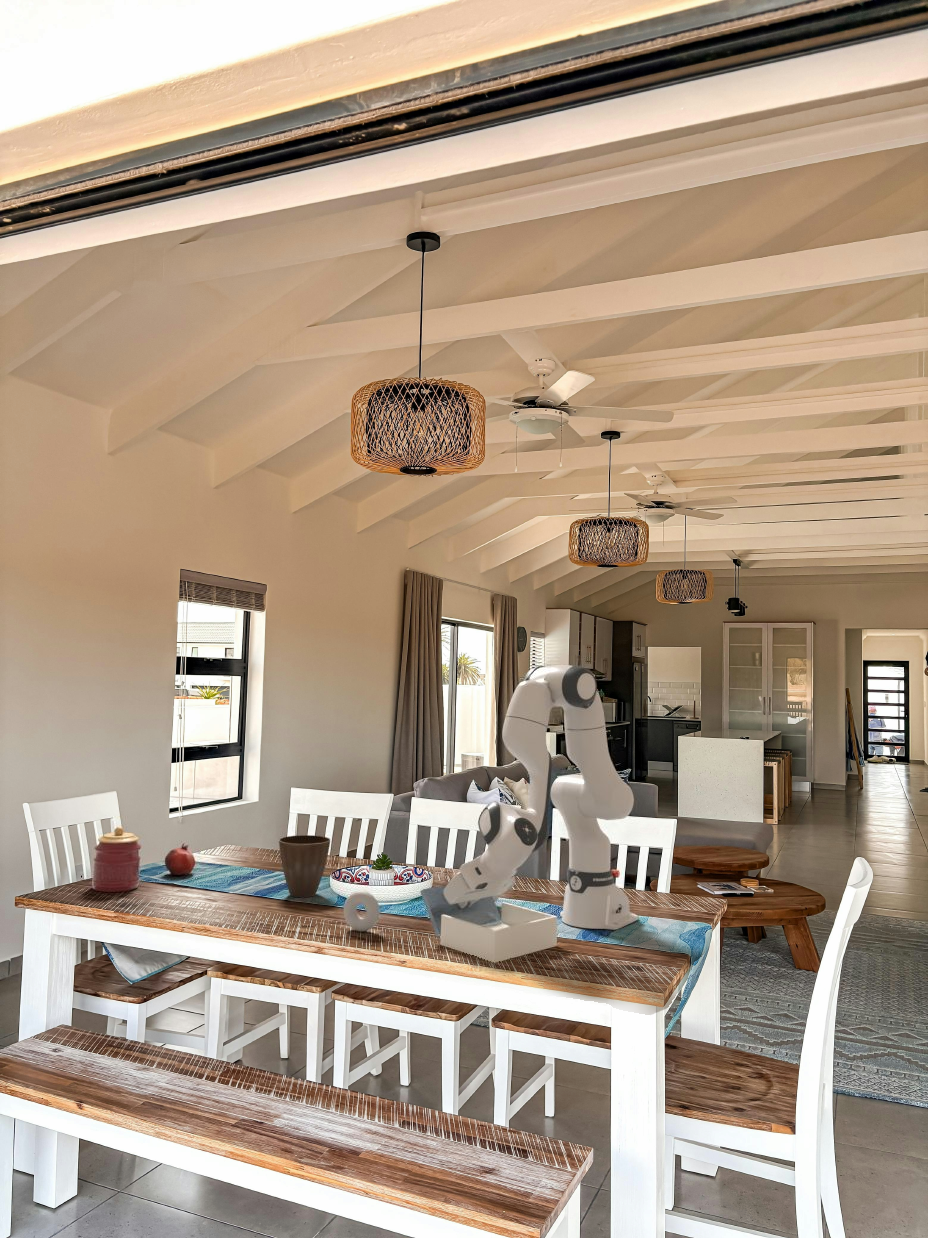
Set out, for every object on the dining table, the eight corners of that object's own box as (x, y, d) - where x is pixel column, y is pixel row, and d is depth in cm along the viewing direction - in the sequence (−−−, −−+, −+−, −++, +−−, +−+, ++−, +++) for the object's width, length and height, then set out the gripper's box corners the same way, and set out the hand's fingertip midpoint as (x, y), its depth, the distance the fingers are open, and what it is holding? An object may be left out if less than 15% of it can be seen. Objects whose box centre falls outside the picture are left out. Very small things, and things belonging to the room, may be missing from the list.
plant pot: (300, 903, 250) (303, 845, 251) (265, 894, 259) (268, 839, 260) (338, 895, 262) (341, 839, 263) (303, 886, 271) (306, 833, 272)
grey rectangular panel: (502, 920, 230) (485, 878, 236) (439, 934, 215) (422, 889, 220) (496, 924, 231) (480, 882, 237) (434, 938, 216) (417, 893, 221)
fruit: (157, 876, 278) (159, 844, 279) (176, 870, 287) (177, 839, 288) (183, 879, 276) (184, 846, 276) (200, 873, 285) (202, 841, 285)
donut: (381, 932, 223) (383, 891, 224) (374, 935, 220) (376, 894, 221) (347, 927, 227) (348, 887, 228) (340, 930, 224) (341, 889, 225)
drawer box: (556, 946, 217) (557, 916, 217) (494, 963, 201) (495, 931, 202) (503, 929, 230) (503, 902, 230) (440, 944, 214) (441, 915, 215)
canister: (128, 893, 255) (132, 831, 256) (83, 892, 255) (87, 829, 256) (145, 884, 267) (149, 824, 269) (103, 882, 268) (106, 822, 269)
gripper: (513, 856, 228) (485, 889, 234) (457, 865, 214) (428, 900, 220) (526, 876, 225) (497, 910, 230) (470, 887, 210) (440, 922, 216)
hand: (463, 905), depth 225 cm, fingers closed, pressing on grey rectangular panel
